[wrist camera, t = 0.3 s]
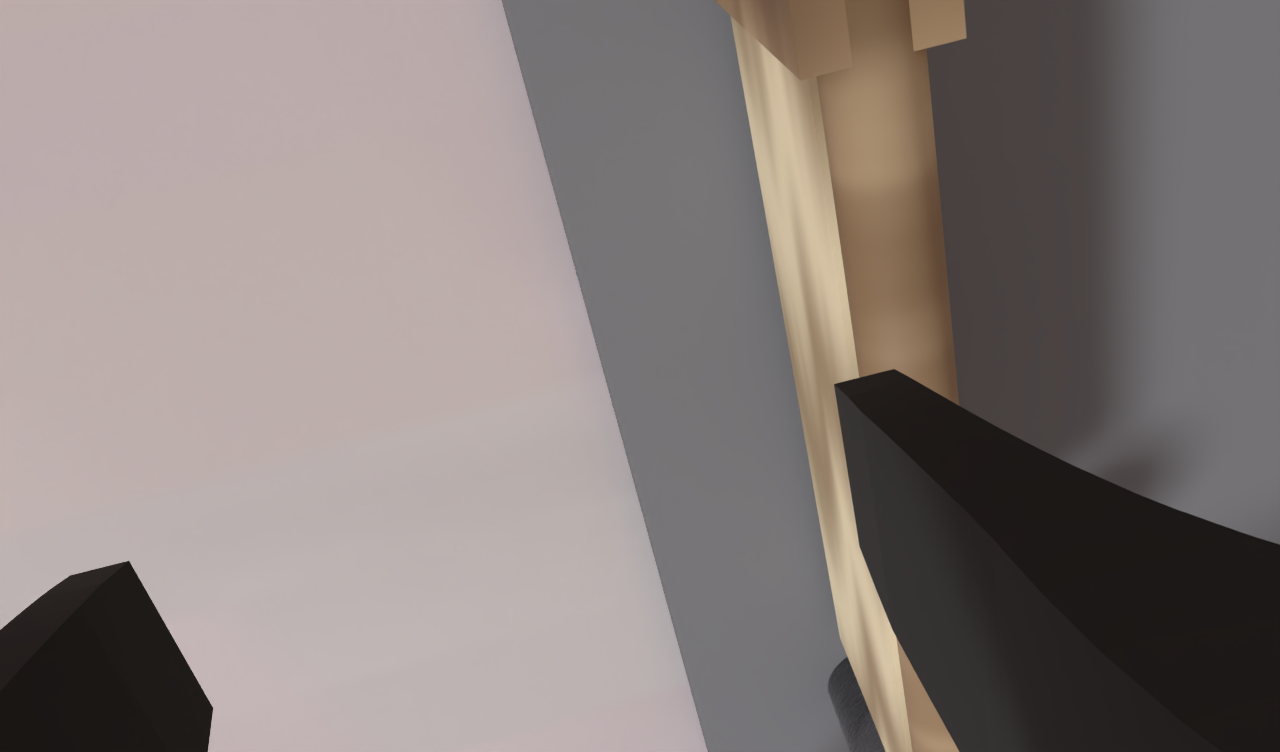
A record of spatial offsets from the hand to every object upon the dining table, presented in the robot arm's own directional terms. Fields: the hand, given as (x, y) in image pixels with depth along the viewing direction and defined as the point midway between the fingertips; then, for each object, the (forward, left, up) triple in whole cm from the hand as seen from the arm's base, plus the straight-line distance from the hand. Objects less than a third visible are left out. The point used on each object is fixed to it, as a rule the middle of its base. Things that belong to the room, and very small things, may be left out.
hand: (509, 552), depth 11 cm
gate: (-3, -5, -8) cm, 10 cm away
